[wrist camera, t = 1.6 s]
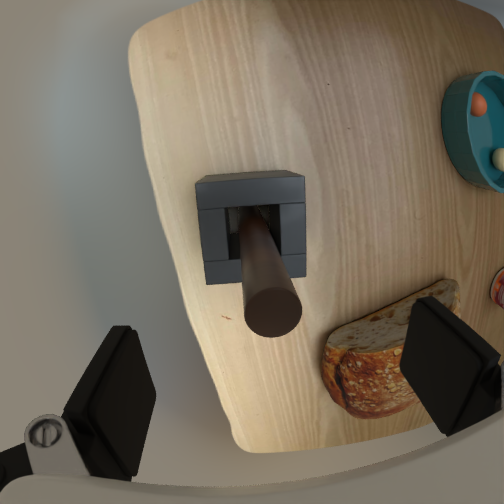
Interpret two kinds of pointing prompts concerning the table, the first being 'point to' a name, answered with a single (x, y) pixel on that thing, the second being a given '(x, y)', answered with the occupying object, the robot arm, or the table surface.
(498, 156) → the bead
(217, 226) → the holder
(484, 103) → the bead
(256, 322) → the stick
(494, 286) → the pill bottle
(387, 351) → the bread
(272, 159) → the table surface
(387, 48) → the table surface
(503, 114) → the bowl
